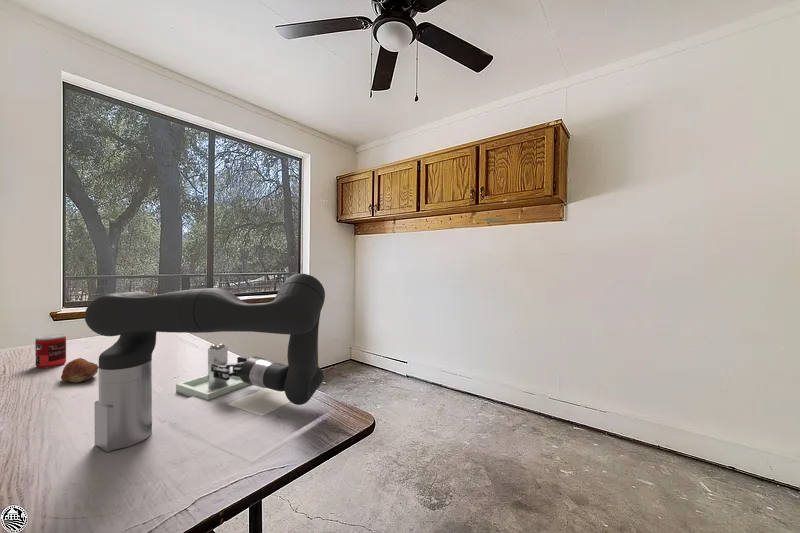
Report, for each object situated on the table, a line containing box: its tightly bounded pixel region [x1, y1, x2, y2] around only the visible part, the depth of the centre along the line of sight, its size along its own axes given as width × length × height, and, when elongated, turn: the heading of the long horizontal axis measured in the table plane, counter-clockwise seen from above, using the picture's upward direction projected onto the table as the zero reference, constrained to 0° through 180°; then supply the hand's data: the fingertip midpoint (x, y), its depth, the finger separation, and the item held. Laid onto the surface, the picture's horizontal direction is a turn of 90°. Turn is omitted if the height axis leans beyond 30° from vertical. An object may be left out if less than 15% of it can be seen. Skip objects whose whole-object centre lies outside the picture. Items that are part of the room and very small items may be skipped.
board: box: [227, 388, 291, 417], centre depth 94 cm, size 14×14×1 cm
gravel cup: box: [207, 343, 229, 390], centre depth 104 cm, size 5×5×13 cm
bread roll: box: [60, 357, 99, 383], centre depth 110 cm, size 13×8×10 cm
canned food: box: [34, 333, 67, 369], centre depth 123 cm, size 8×8×11 cm
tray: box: [175, 369, 250, 401], centre depth 104 cm, size 16×16×2 cm
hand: (225, 363), depth 102 cm, fingers open, 8 cm apart
